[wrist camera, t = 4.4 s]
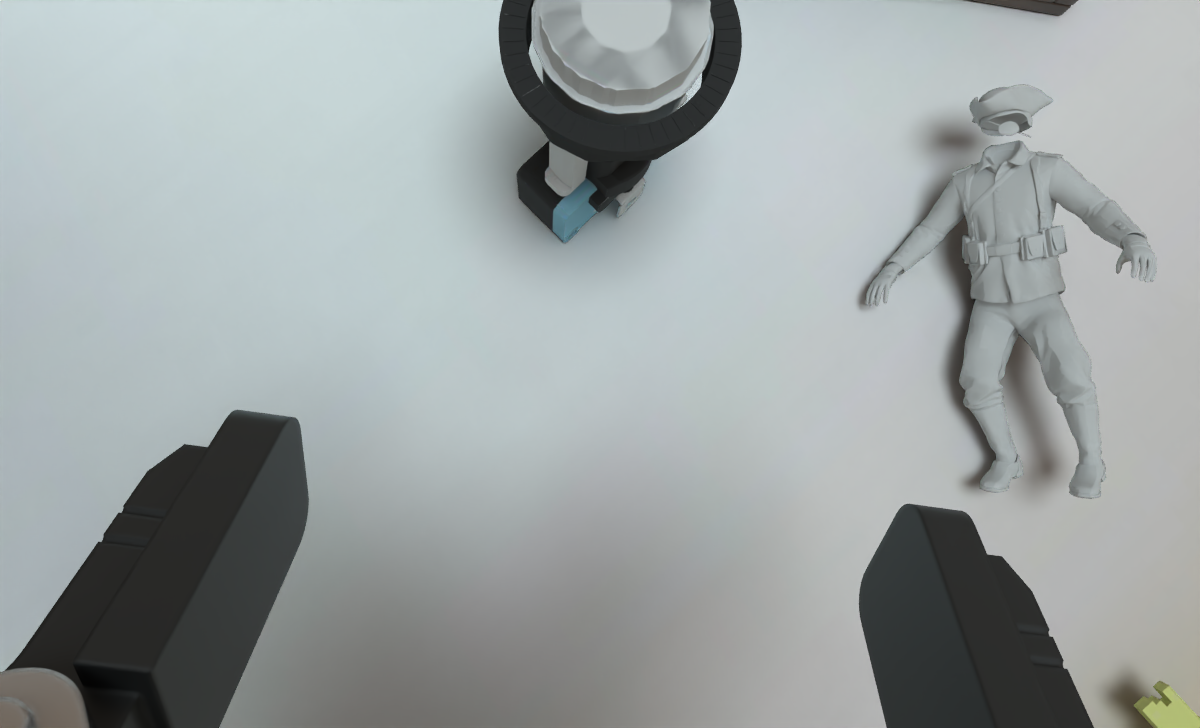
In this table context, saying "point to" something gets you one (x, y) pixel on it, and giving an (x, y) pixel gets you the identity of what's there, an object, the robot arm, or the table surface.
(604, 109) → the push button
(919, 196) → the table surface
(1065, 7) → the grid
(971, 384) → the soldier figure
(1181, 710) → the key
